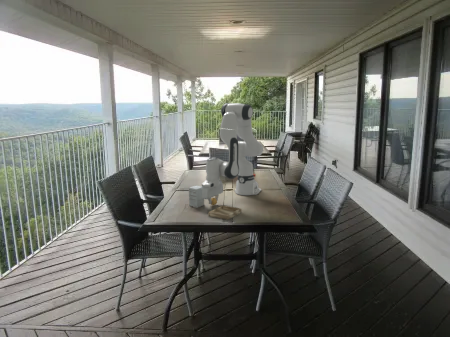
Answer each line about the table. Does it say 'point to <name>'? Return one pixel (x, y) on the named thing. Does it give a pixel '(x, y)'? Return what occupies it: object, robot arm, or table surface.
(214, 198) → the ball
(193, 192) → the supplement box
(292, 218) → the table surface
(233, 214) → the tray
